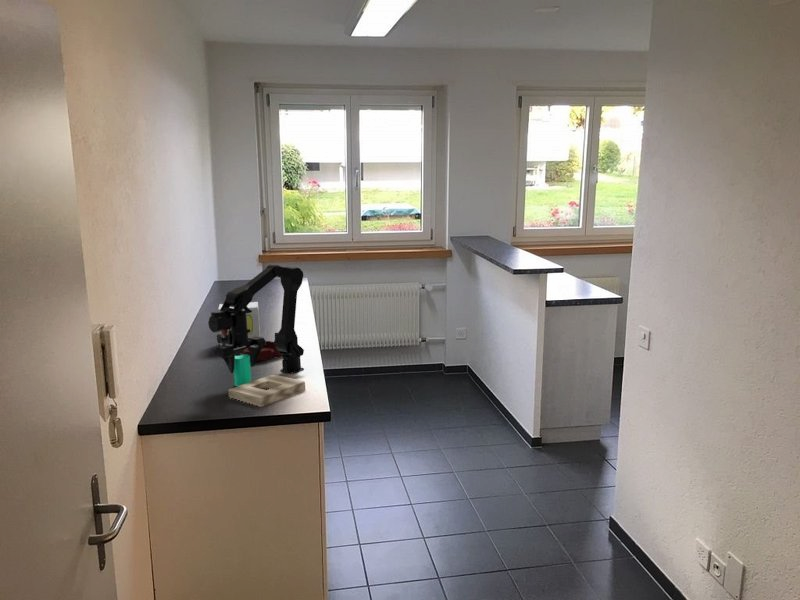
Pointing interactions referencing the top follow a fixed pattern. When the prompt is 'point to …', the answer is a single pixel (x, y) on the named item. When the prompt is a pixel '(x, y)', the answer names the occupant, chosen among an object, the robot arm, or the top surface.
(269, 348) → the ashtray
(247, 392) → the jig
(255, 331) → the supplement box
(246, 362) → the candle
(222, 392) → the top surface
